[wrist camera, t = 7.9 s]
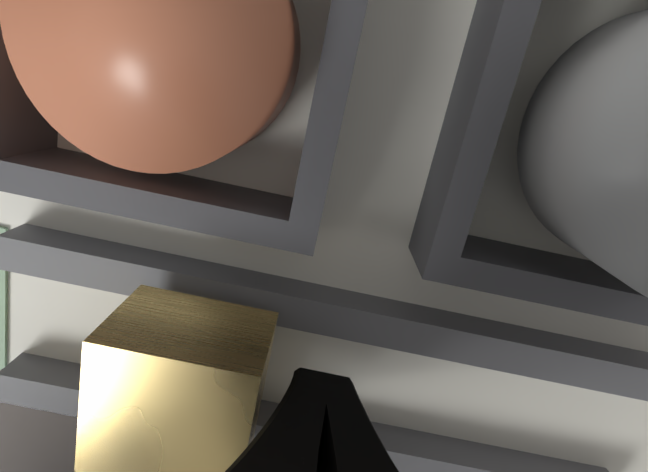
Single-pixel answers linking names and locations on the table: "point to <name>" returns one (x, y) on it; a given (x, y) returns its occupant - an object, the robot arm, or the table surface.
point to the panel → (355, 243)
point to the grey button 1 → (594, 149)
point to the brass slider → (171, 384)
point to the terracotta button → (154, 74)
